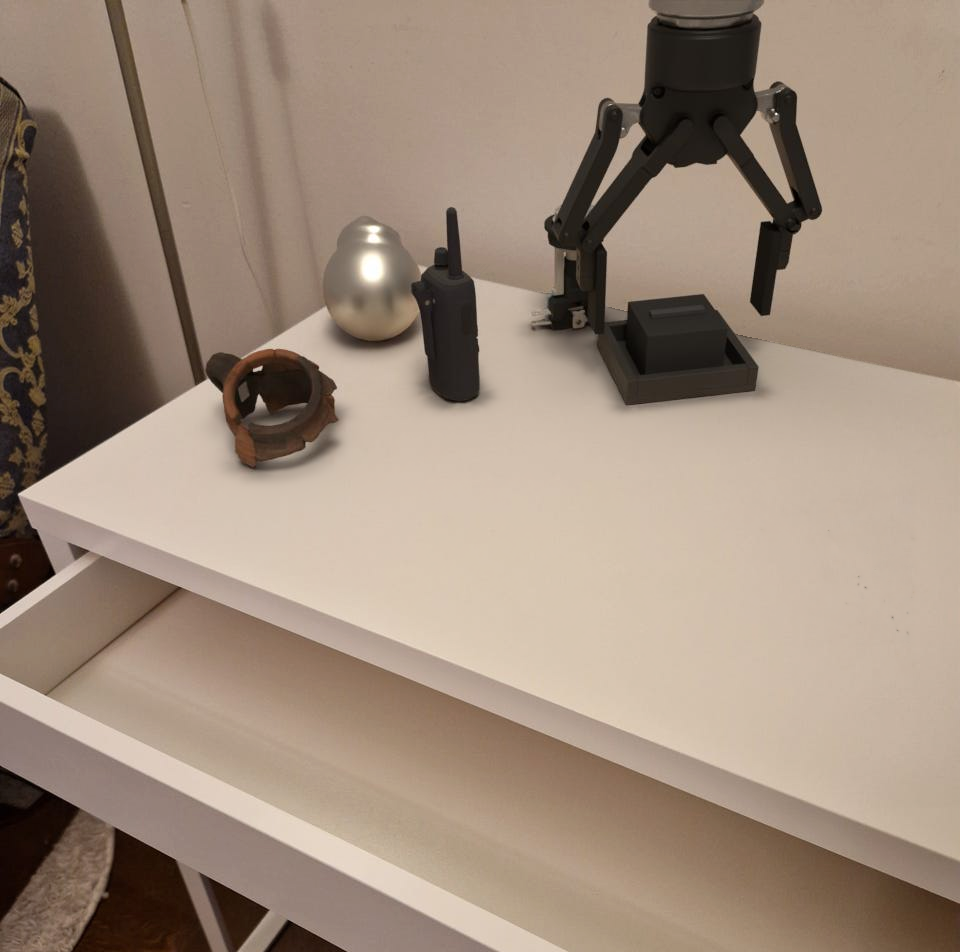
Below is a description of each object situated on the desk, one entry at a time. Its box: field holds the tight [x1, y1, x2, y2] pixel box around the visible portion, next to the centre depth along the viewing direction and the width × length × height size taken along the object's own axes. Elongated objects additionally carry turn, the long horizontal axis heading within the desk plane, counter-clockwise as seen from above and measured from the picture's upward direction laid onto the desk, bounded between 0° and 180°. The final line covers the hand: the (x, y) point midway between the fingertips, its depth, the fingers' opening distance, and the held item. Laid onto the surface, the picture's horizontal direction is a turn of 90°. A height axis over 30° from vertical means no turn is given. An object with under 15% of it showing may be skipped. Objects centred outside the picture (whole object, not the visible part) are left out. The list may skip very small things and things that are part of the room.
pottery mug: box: [204, 348, 339, 468], centre depth 77 cm, size 12×10×8 cm
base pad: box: [596, 309, 760, 406], centre depth 83 cm, size 11×11×2 cm
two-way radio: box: [411, 206, 481, 402], centre depth 78 cm, size 6×4×15 cm
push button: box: [530, 204, 605, 331], centre depth 88 cm, size 7×5×10 cm
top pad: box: [626, 293, 728, 375], centre depth 82 cm, size 6×6×4 cm
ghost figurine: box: [322, 215, 422, 342], centre depth 88 cm, size 9×10×10 cm
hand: (678, 318), depth 81 cm, fingers open, 13 cm apart
